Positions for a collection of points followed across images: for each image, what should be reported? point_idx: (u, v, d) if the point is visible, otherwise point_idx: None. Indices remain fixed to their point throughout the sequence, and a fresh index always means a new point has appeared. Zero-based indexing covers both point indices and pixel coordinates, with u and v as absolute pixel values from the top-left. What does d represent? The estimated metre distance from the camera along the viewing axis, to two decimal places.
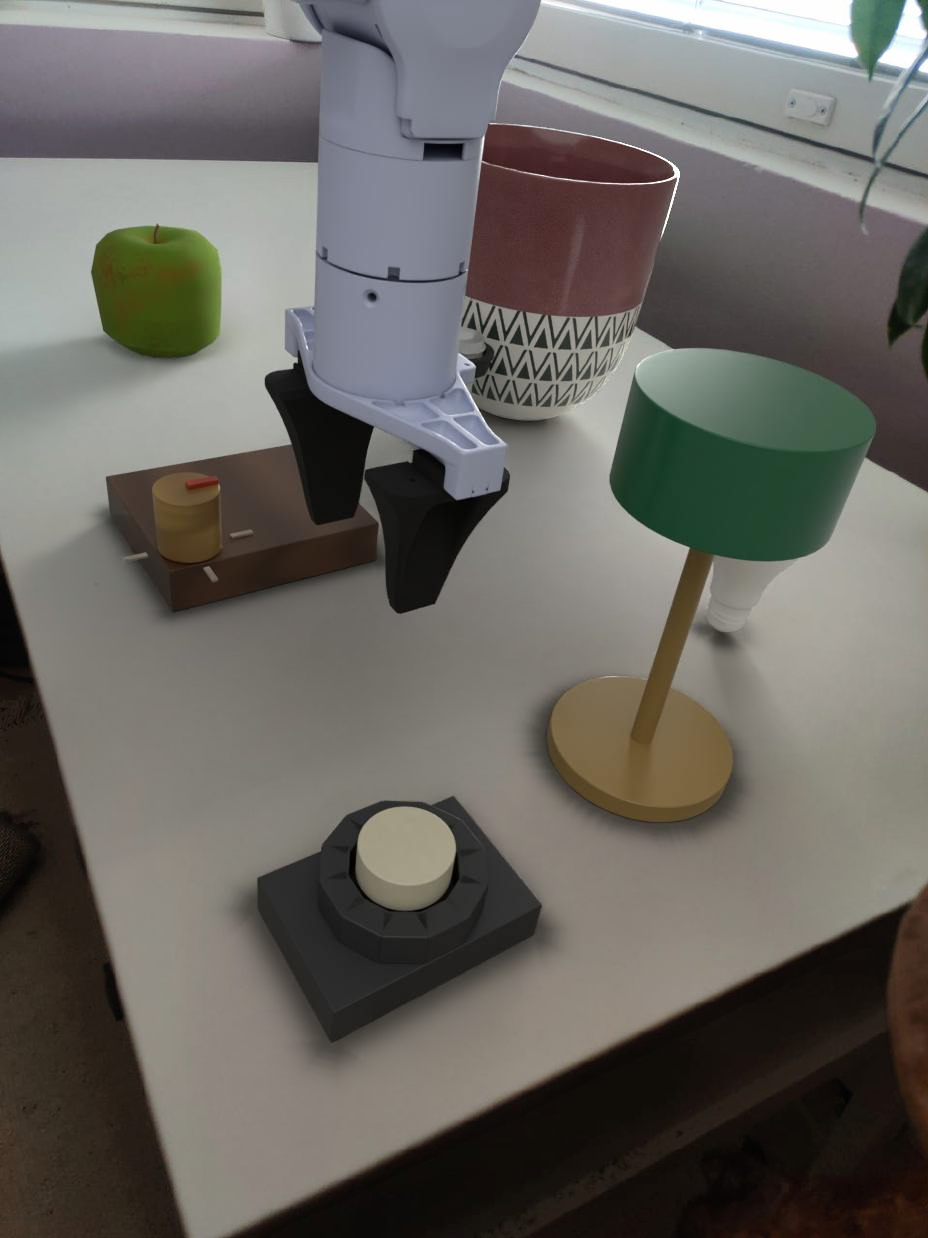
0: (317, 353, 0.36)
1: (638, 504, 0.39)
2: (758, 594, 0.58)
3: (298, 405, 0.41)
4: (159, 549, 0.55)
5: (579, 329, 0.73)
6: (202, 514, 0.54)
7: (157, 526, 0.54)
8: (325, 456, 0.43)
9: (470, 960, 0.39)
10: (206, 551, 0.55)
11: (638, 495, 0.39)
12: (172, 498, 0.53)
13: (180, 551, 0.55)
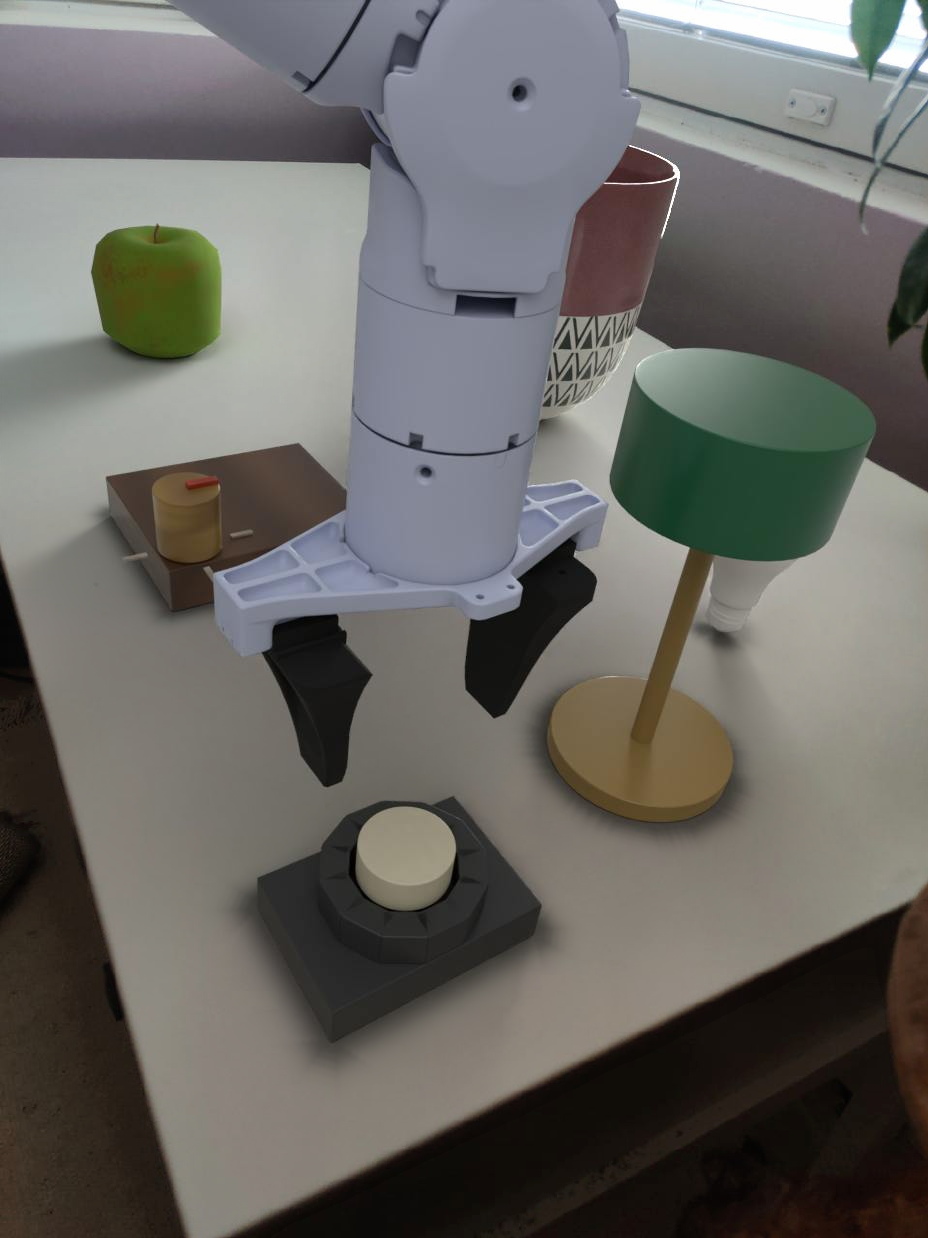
0: None
1: (638, 504, 0.39)
2: (758, 594, 0.58)
3: None
4: (159, 549, 0.55)
5: (579, 329, 0.73)
6: (202, 514, 0.54)
7: (157, 526, 0.54)
8: (486, 627, 0.37)
9: (470, 960, 0.39)
10: (206, 551, 0.55)
11: (638, 495, 0.39)
12: (172, 498, 0.53)
13: (180, 551, 0.55)
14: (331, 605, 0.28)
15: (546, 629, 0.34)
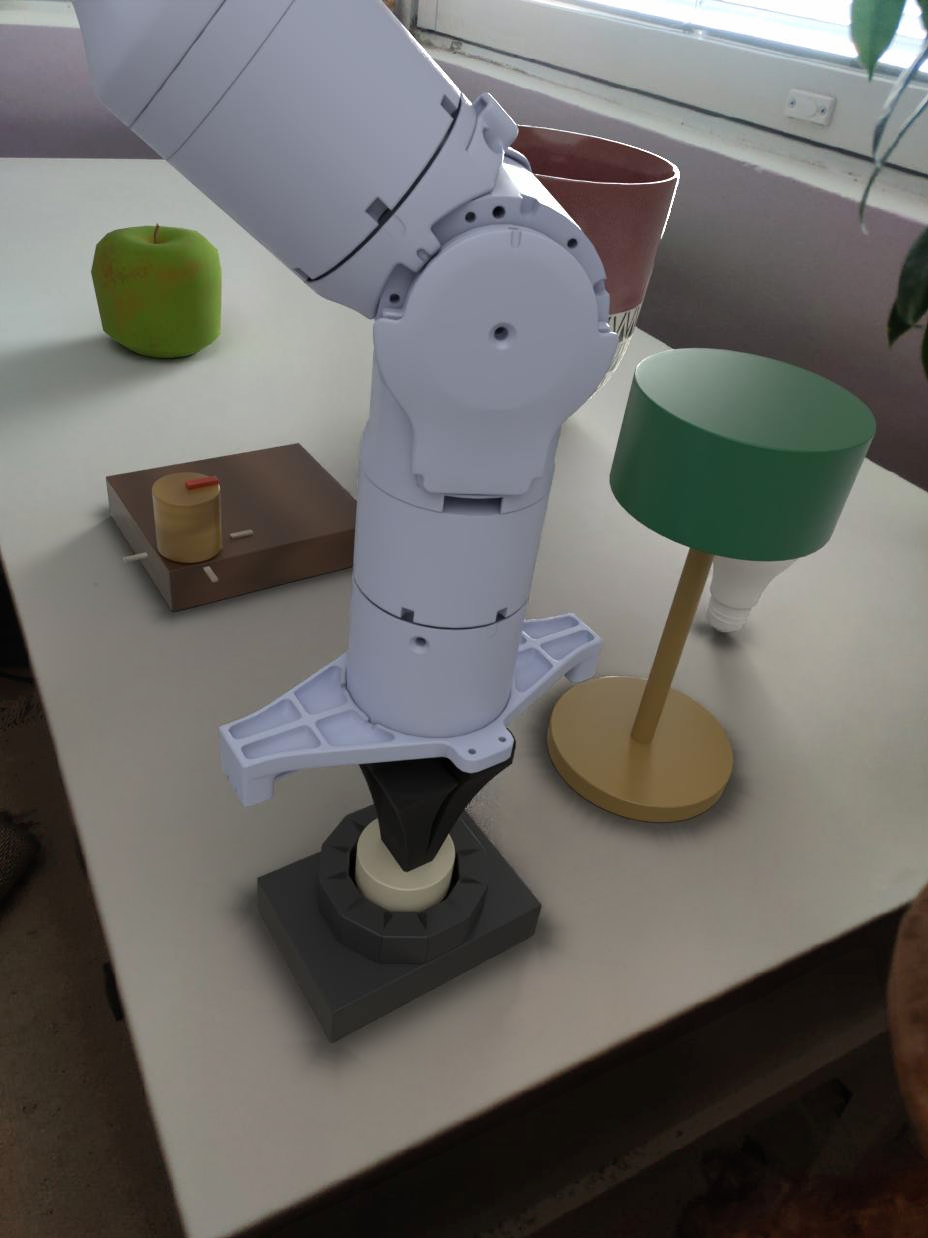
0: None
1: (638, 504, 0.39)
2: (758, 594, 0.58)
3: None
4: (159, 549, 0.55)
5: None
6: (202, 514, 0.54)
7: (157, 526, 0.54)
8: None
9: (470, 960, 0.39)
10: (206, 551, 0.55)
11: (638, 495, 0.39)
12: (172, 498, 0.53)
13: (180, 551, 0.55)
14: (330, 759, 0.29)
15: (465, 791, 0.34)
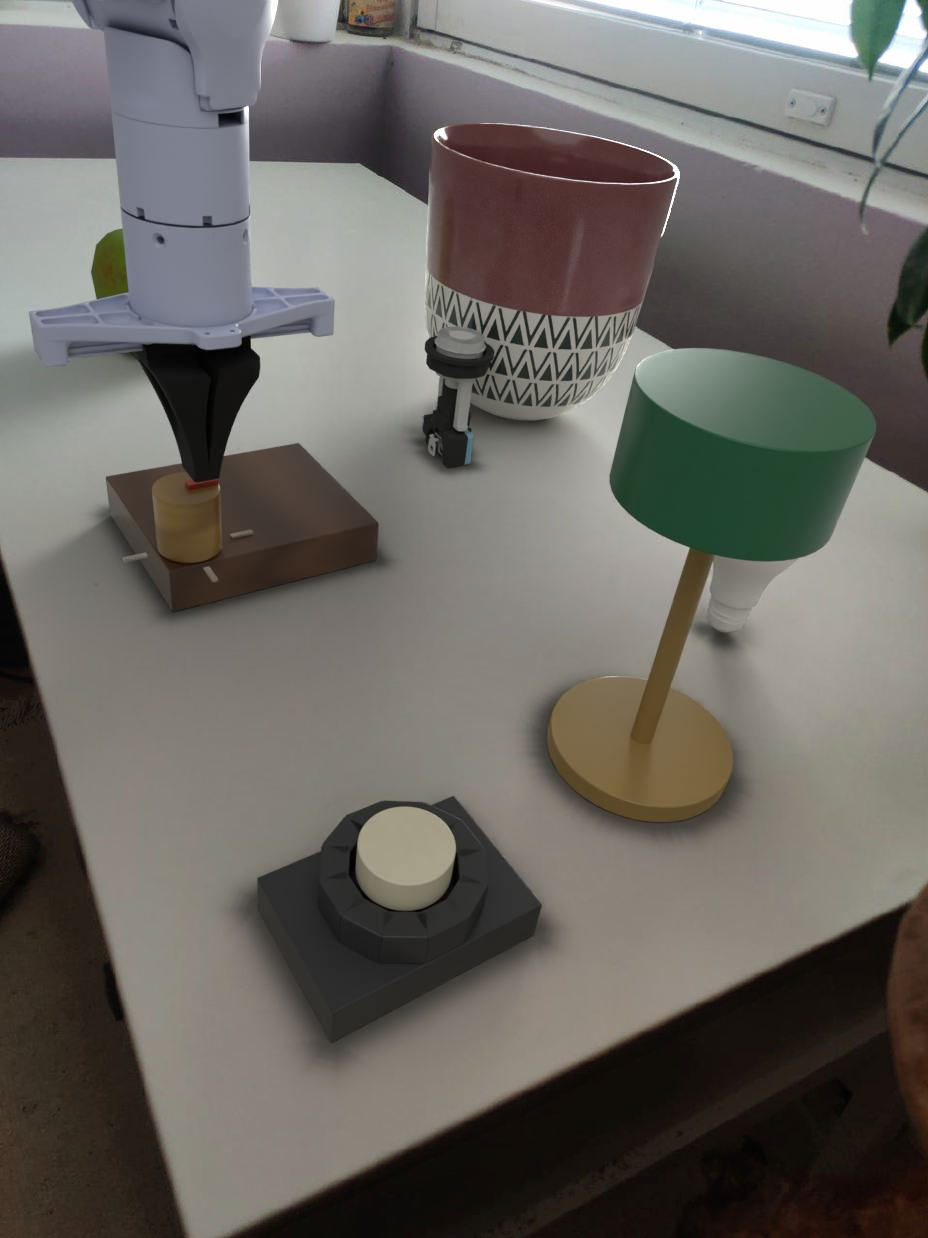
0: None
1: (638, 504, 0.39)
2: (758, 594, 0.58)
3: None
4: (159, 549, 0.55)
5: (579, 329, 0.73)
6: (202, 514, 0.54)
7: (157, 526, 0.54)
8: None
9: (470, 960, 0.39)
10: (206, 551, 0.55)
11: (638, 495, 0.39)
12: (172, 498, 0.53)
13: (180, 551, 0.55)
14: (105, 333, 0.42)
15: (225, 398, 0.47)
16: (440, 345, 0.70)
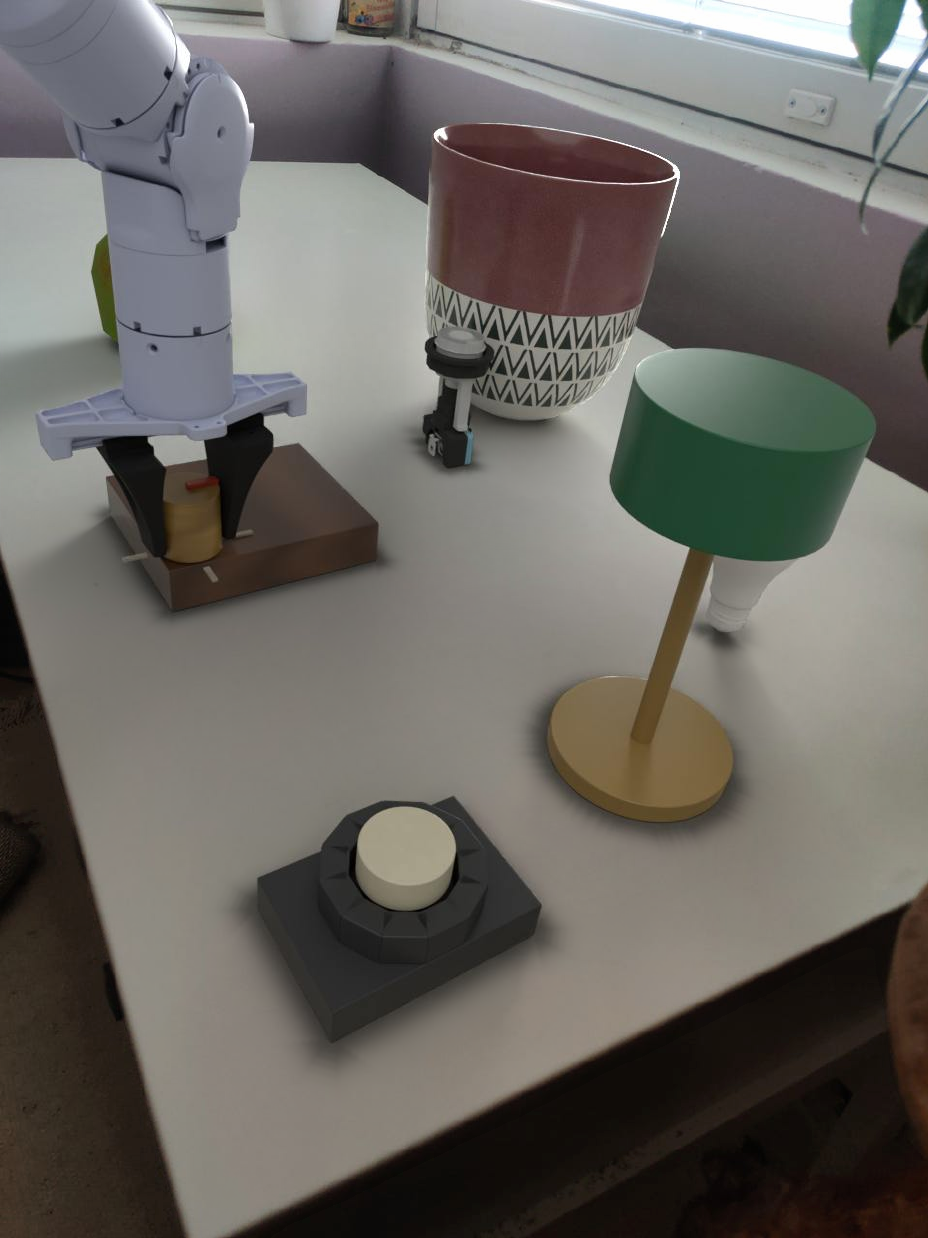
0: None
1: (638, 504, 0.39)
2: (758, 594, 0.58)
3: None
4: None
5: (579, 329, 0.73)
6: (202, 514, 0.54)
7: None
8: None
9: (470, 960, 0.39)
10: (206, 551, 0.55)
11: (638, 495, 0.39)
12: (172, 498, 0.53)
13: (180, 551, 0.55)
14: (105, 429, 0.48)
15: (243, 470, 0.53)
16: (440, 345, 0.70)
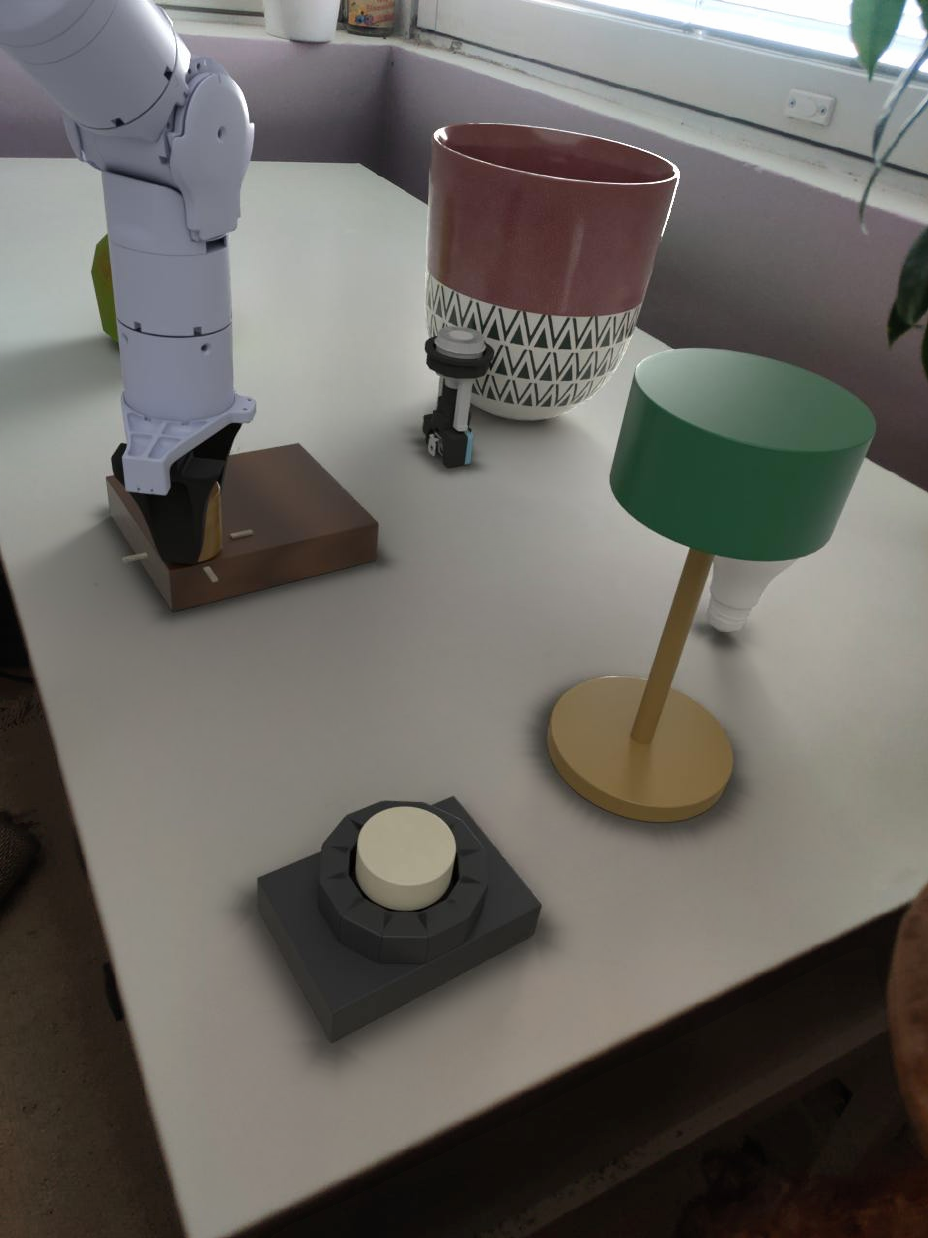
0: None
1: (638, 504, 0.39)
2: (758, 594, 0.58)
3: None
4: None
5: (579, 329, 0.73)
6: (220, 502, 0.55)
7: None
8: None
9: (470, 960, 0.39)
10: (221, 538, 0.56)
11: (638, 495, 0.39)
12: None
13: (209, 547, 0.55)
14: (189, 445, 0.47)
15: (230, 446, 0.55)
16: (440, 345, 0.70)
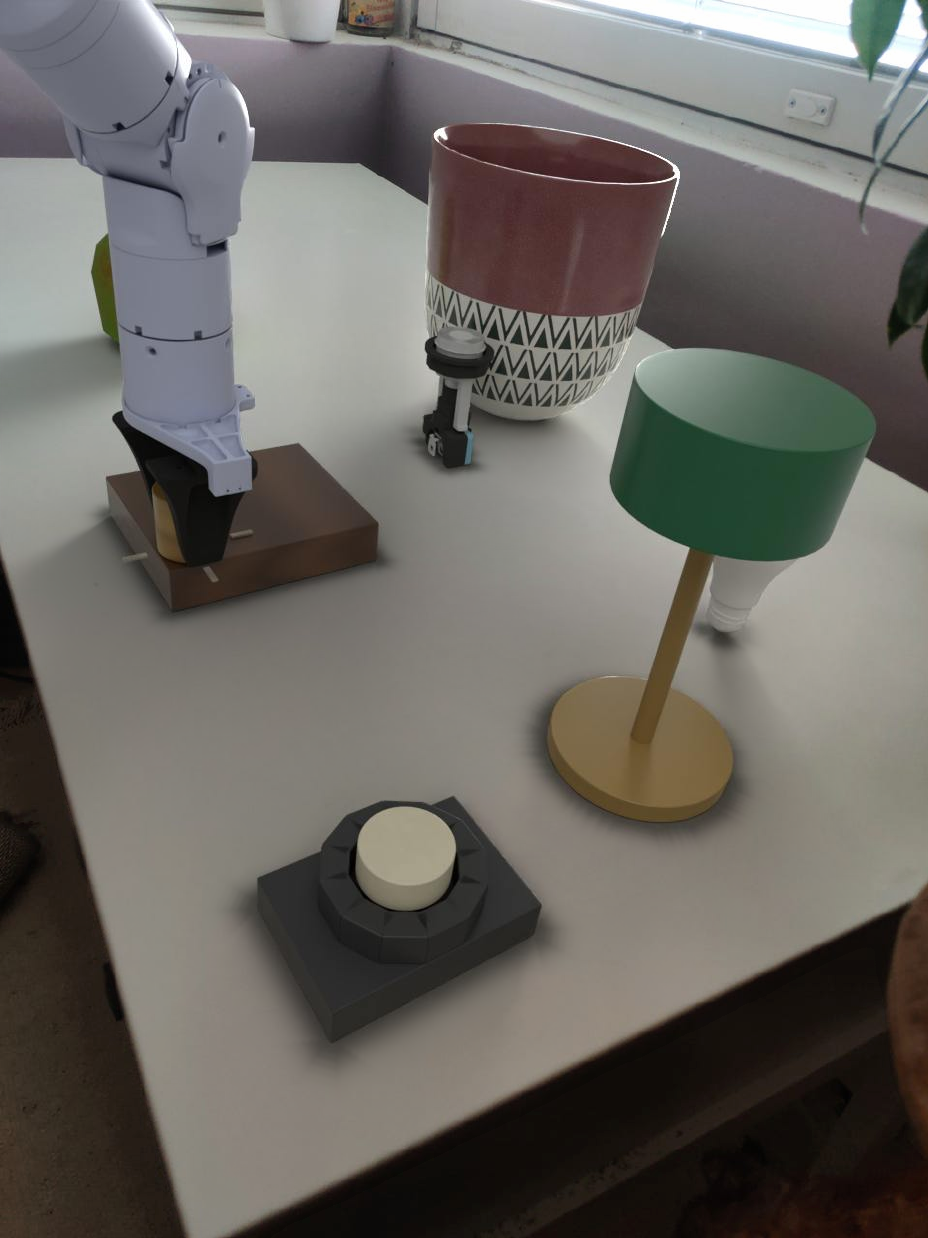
0: (124, 389, 0.49)
1: (638, 504, 0.39)
2: (758, 594, 0.58)
3: (136, 437, 0.53)
4: None
5: (579, 329, 0.73)
6: None
7: None
8: None
9: (470, 960, 0.39)
10: None
11: (638, 495, 0.39)
12: None
13: None
14: None
15: None
16: (440, 345, 0.70)
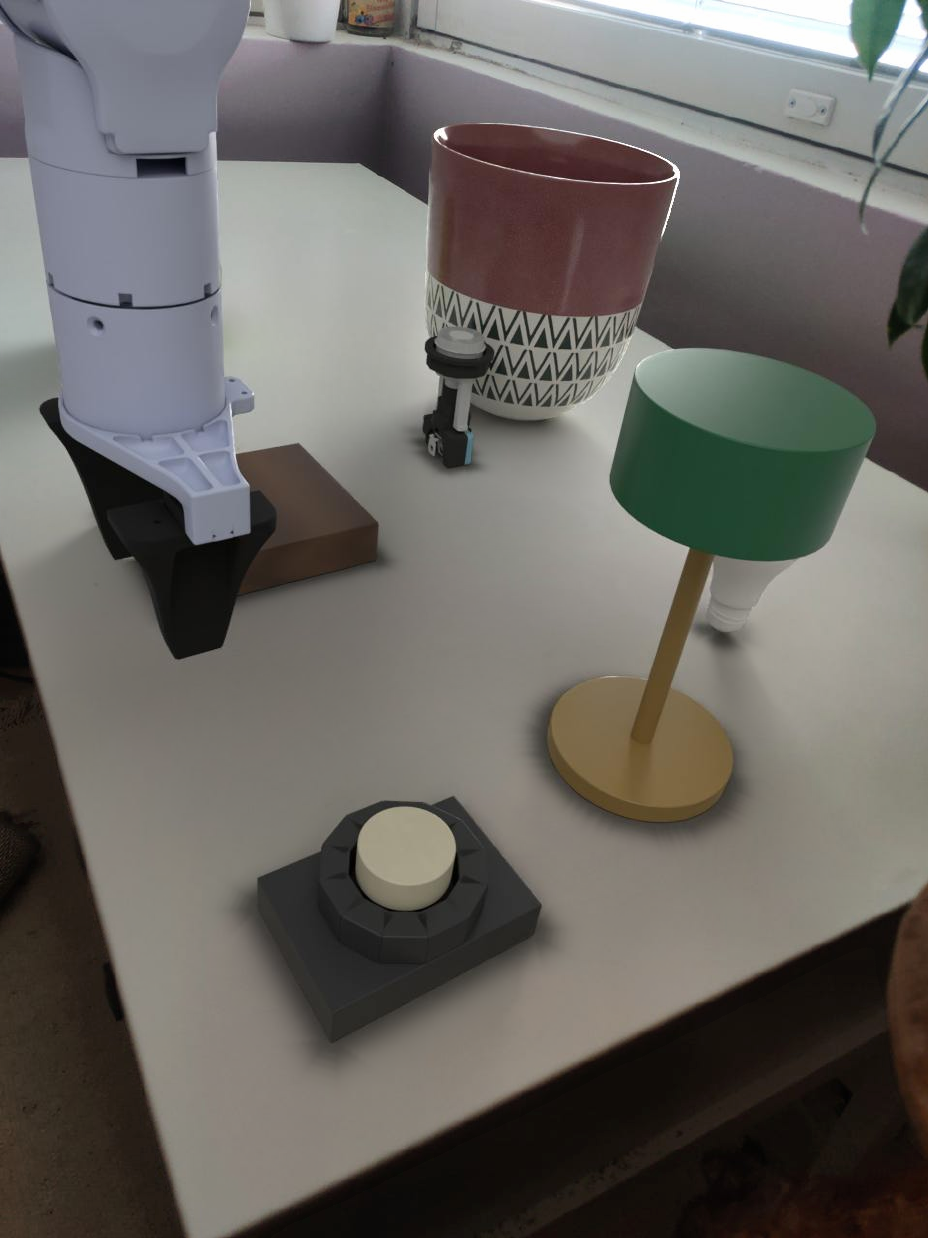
0: (61, 383, 0.33)
1: (638, 504, 0.39)
2: (758, 594, 0.58)
3: None
4: None
5: (579, 329, 0.73)
6: None
7: None
8: (115, 488, 0.40)
9: (470, 960, 0.39)
10: None
11: (638, 495, 0.39)
12: None
13: None
14: None
15: None
16: (440, 345, 0.70)
